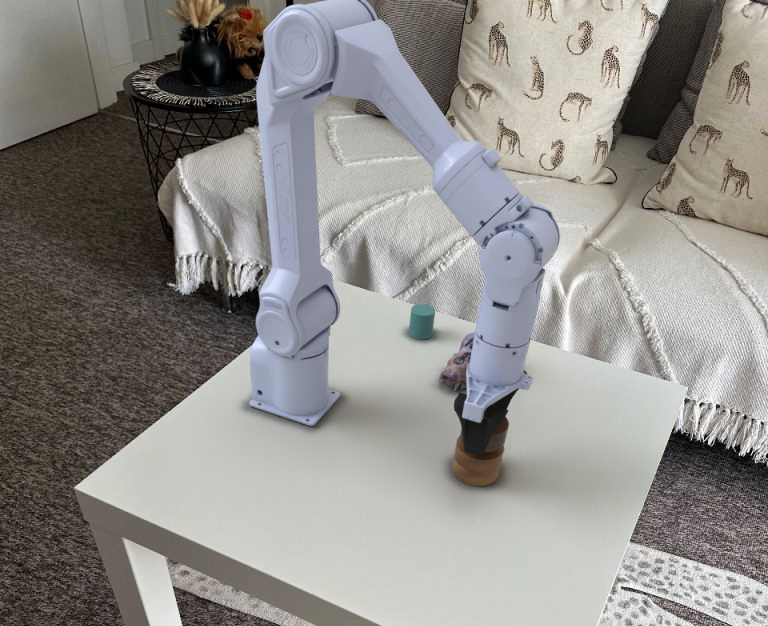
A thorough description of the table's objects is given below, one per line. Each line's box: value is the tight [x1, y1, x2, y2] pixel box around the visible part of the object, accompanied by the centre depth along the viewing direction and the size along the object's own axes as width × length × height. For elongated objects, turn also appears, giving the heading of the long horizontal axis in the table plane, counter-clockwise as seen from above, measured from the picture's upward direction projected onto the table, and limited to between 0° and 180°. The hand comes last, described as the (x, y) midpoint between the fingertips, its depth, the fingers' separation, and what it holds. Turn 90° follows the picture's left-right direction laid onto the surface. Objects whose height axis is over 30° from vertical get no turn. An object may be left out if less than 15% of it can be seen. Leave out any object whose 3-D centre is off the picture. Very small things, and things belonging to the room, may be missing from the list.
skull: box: [438, 331, 475, 392], centre depth 99 cm, size 12×8×6 cm, turn 129°
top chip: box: [453, 435, 505, 473], centre depth 83 cm, size 6×6×2 cm
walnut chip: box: [459, 416, 510, 452], centre depth 81 cm, size 5×5×2 cm
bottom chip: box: [451, 456, 501, 487], centre depth 85 cm, size 6×6×2 cm
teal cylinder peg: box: [408, 303, 436, 341], centre depth 107 cm, size 4×4×4 cm
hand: (481, 438), depth 82 cm, fingers closed on walnut chip, 5 cm apart
